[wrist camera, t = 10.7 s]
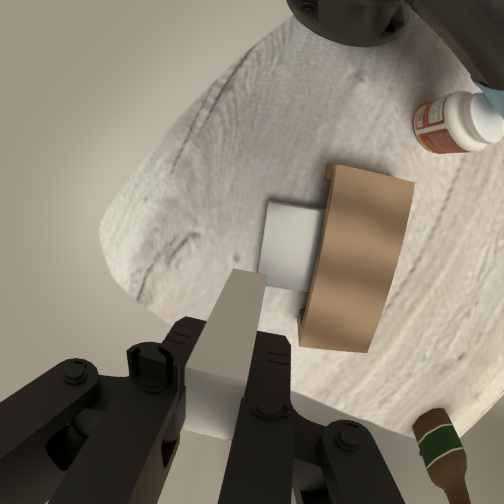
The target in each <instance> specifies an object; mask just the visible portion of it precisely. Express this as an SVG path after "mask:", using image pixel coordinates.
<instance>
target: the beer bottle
mask: <svg viewBox="0 0 504 504" xmlns="http://www.w3.org/2000/svg"><path fill="white" fill-rule="evenodd" d="M413 431H414V434H415V437H416V440H417V443H418V445H419V448H420V451H421V454H422V457H423V460H424V463H425V466H426V469H427V471H428V474H429V476H430V478H431V480H432V482H433V483H434V484H435V485H436V486H438V487H440V488H442V489H443V490H444V492H445V493H446V495H447V498H448V500H449V503H450V504H471V503H470V499H469V495H468V491H467V487H466V484H465V478H464V477H465V473H466V469H467V458H466V454H465V451H464V448H463V446H462V444H461V441H460V439H459V437H458V435H457V433H456V431H455V429H454V426H453V424H452V422H451V420H450V418H449V416H448V414H447V413H446V411H445V409H432V410H431V411H429V412H427V413H426V414H424V415H422V416H420V417H419V419H418V420H417V421H416V423H415V424H414V425H413Z"/></svg>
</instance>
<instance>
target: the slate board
mask: <svg viewBox="0 0 504 504" xmlns="http://www.w3.org/2000/svg"><path fill="white" fill-rule="evenodd" d="M325 213H326V209H322V208H316V207H311V206H305V205H299V204H293V203H287V202H281V201H274V200H269V202H268V209H267V216H266V222H265V229H264V236H263V242H262V249H261V256H260V262H259V269H258V273H260V274H265V275H267V279H266V285H265V286H270V287H276V288H283V289H289V290H296V291H302V292H310V287H311V283H312V278H313V273H314V269H315V264H316V259H317V254H318V249H319V244H320V239H321V234H322V229H323V224H324V218H325Z"/></svg>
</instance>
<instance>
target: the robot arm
mask: <svg viewBox="0 0 504 504" xmlns="http://www.w3.org/2000/svg"><path fill="white" fill-rule="evenodd" d="M287 3H288V5H289V7H290V9H291V11H292V12H293V14H294V15H295V16H296V17H297V18H298V20H299V21H301V22H302V23H303V24H304V25H305V26H306V27H308V28H309V29H311V30H312V31H314V32H315V33H317V34H319V35H321V36H323V37H325V38H327V39H329V40H332V41H335V42H338V43H341V44H345V45H350V46H358V47H371V46H378V45H381V44H385V43H387V42H389V41H391V40H392V39H394V38H395V37H396V36H397V35H398V34H399V33H400V32H401V31H402V30H403V28H404V27H405V26H406V24H407V22H408V19H409V14H410V7H411V8H412V9H413V10H414V11H415V12H416V13H417V14H418V15H419V16H420V17H421V18H422V19H423V20H424V21H425V22H426V23H427V24H428V25H429V26H430V27H431V28H432V29H433V30H434V31H435V32H436V33H437V34H438V36H439V37H440V38H441V39H442V40H443V41H444V42H445V43H446V45H447V46H448V47H449V48H450V49H451V50H452V52H453V53H454V54H455V55H456V56H457V58H458V59H459V60H460V62H461V63H462V64H463V65H464V67H465V68H466V69H467V71H468V72H469V73H470V75H471V76H470V77H471V79H472V81H473V82H474V83H475V85H477V86H478V87H479V88H480V89H481V90H482V91H483V93H484V94H485V96H486V97H487V98H488V100H489V101H490V103H491V104H492V106H493V107H494V109H495V110H496V112H497V113H498V114H499V115H500V116H501V117H502V118H503V119H504V0H287ZM266 279H267V275H265V274H260V273H254V272H249V271H244V270H239V269H234V268H233V270H232V272H231V274H230V276H229V278H228V280H227V282H226V284H225V286H224V288H223V290H222V292H221V294H220V296H219V298H218V300H217V302H216V304H215V306H214V308H213V310H212V312H211V314H210V316H209V318H208V321H204V320H199V319H195V318H191V317H187V316H185V317H184V318H182V319H180V320H179V321H177V322H175V324H174V325H173V327H172V328H171V330H170V332H169V333H168V334H167V336H166V337H165V340H163V342H162V343H156V342H143V343H139V344H136V345H134V346H132V347H131V348H129V349H128V350H127V360H128V367H129V376H128V377H113V376H104V375H99V374H98V371H97V368H96V367H95V366H94V365H93V364H92V363H91V362H89V361H87V360H85V359H78V358H74V359H67V360H65V361H63V362H61V363H59V364H57V365H56V366H54V367H53V368H51V369H50V370H49V371H47V372H45V373H44V374H42V375H41V376H40V377H38V378H36V379H35V380H33V381H32V382H30V383H29V384H27V385H26V386H24V387H23V388H21V389H20V390H18V391H17V392H15V393H14V394H12V395H11V396H9V397H8V398H6V399H5V400H4V401H2V402H0V504H45V503H46V502H47V501H49V502H48V504H157V502H158V499H159V496H160V494H161V491H162V488H163V486H164V483H165V480H166V478H167V475H168V473H169V470H170V467H171V465H172V462H173V459H174V456H175V454H176V451H177V449H178V446H179V441H180V431H181V429H182V426H183V424H184V429H186V430H190V431H193V432H197V433H201V434H205V435H209V436H213V437H218V438H223V439H227V440H232V444H231V448H230V453H229V457H228V462H227V466H226V470H225V474H224V479H223V483H222V487H221V491H220V495H219V500H218V504H291V493H292V487H293V491H294V494H295V498H296V503H297V504H405V502H404V500H403V498H402V496H401V494H400V491H399V490H398V487H397V485H396V483H395V481H394V479H393V477H392V475H391V473H390V471H389V469H388V467H387V465H386V463H385V461H384V459H383V457H382V455H381V453H380V451H379V449H378V447H377V445H376V443H375V441H374V439H373V437H372V435H371V433H370V432H369V431H368V429H367V428H366V427H364V426H363V425H361V424H360V423H358V422H354V421H351V420H338V421H335V422H331V423H330V424H329V425H328V426H327V427H325V426H323V425H320V424H317V423H314V422H311V421H309V420H307V419H305V418H303V417H302V416H301V415H299V414H298V413H297V412H296V411H295V409H294V408H293V407H292V404H291V400H290V381H291V366H290V365H291V345H290V343H289V341H288V340H287V338H286V336H283V335H278V334H272V333H266V332H261V331H257V328H258V323H259V317H260V312H261V307H262V301H263V296H264V290H265V285H266Z"/></svg>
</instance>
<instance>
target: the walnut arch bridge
mask: <svg viewBox="0 0 504 504" xmlns="http://www.w3.org/2000/svg"><path fill="white" fill-rule="evenodd" d="M325 178H328V179H331V183H330V189H329V195H328V201H327V207H326V213H325V218H324V224H323V229H322V234H321V239H320V244H319V249H318V254H317V259H316V264H315V269H314V273H313V278H312V283H311V287H310V292H309V296H308V300H307V305H306V309H305V310H299V315H298V319H297V323H298V338H299V346H300V347H308V348H317V349H326V350H336V351H347V352H359V353H367V352H368V349H369V347H370V344H371V341H372V339H373V336H374V333H375V331H376V328H377V325H378V323H379V320H380V317H381V314H382V311H383V308H384V305H385V302H386V299H387V296H388V293H389V290H390V286H391V283H392V280H393V276H394V273H395V269H396V266H397V262H398V258H399V255H400V251H401V247H402V243H403V239H404V235H405V230H406V226H407V221H408V217H409V212H410V207H411V202H412V196H413V191H414V185H415V183H414V182H410V181H406V180H403V179H399V178H395V177H391V176H387V175H383V174H379V173H375V172H371V171H366V170H362V169H357V168H353V167H348V166H343V165H338V164H327V168H326V175H325Z"/></svg>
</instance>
